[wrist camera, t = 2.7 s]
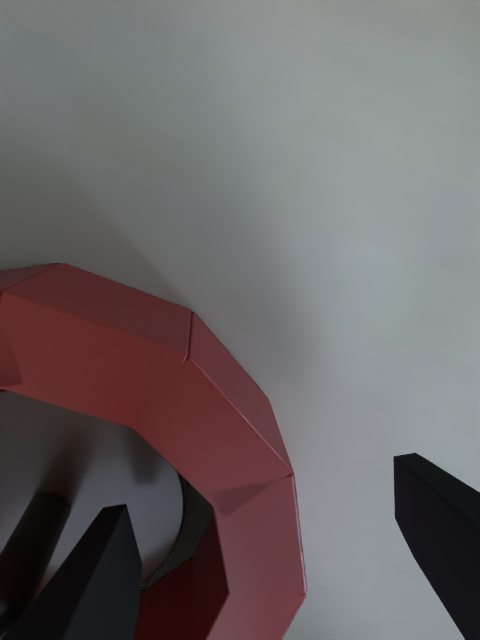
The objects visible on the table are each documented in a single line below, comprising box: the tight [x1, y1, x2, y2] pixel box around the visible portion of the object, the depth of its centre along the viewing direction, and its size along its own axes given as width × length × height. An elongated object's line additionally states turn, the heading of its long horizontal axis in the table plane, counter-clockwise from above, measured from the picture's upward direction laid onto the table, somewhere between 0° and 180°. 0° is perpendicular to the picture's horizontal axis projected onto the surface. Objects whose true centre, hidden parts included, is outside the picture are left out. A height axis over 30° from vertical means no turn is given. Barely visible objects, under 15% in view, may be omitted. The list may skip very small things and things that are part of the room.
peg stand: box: [0, 389, 187, 640], centre depth 11 cm, size 8×8×5 cm
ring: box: [0, 263, 307, 640], centre depth 11 cm, size 14×14×4 cm
